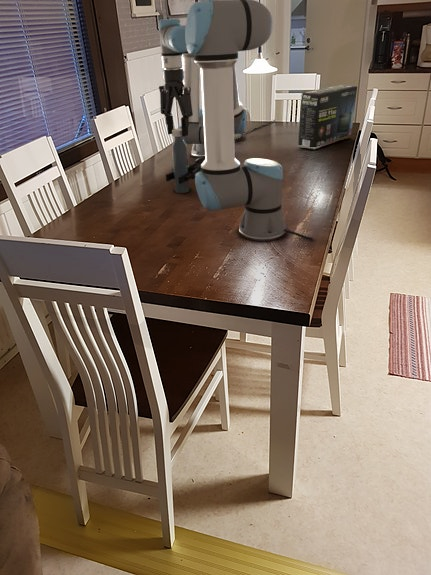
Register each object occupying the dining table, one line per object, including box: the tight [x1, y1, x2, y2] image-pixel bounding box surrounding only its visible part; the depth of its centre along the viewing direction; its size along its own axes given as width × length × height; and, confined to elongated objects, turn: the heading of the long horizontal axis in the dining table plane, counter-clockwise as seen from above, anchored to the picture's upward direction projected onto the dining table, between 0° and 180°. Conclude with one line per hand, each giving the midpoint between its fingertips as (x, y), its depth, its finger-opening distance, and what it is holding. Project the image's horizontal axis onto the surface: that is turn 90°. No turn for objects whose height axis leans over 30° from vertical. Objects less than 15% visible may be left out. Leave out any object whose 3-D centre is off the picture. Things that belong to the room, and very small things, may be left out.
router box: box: [297, 84, 358, 151], centre depth 238 cm, size 36×11×27 cm, turn 134°
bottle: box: [171, 136, 190, 194], centre depth 182 cm, size 6×6×23 cm
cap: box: [171, 128, 182, 137], centre depth 176 cm, size 4×4×2 cm
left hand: (173, 179), depth 181 cm, fingers closed on bottle, 6 cm apart
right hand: (178, 134), depth 176 cm, fingers open, 7 cm apart
